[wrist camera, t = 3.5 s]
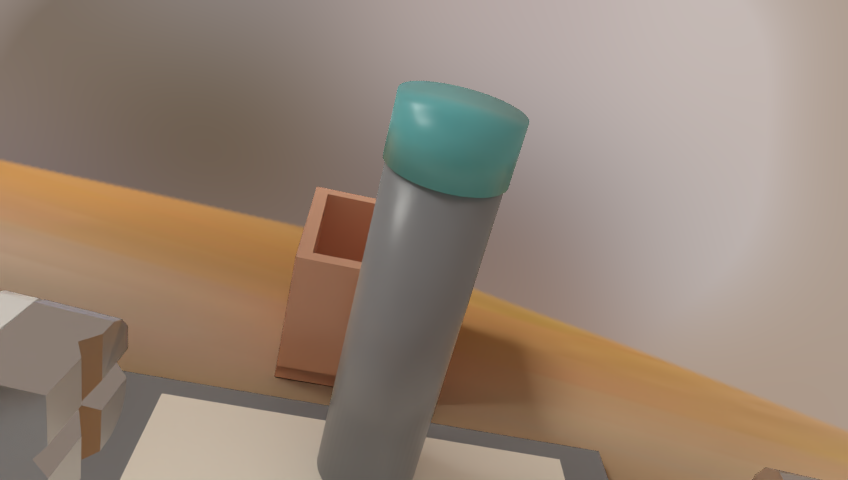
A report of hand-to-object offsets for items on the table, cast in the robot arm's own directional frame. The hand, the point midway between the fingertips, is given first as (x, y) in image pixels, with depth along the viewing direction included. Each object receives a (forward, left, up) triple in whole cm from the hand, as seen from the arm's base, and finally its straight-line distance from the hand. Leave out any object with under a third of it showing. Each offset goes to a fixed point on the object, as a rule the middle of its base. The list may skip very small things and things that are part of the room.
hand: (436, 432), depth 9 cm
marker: (+8, +9, -13) cm, 18 cm away
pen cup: (+13, +16, -14) cm, 25 cm away
